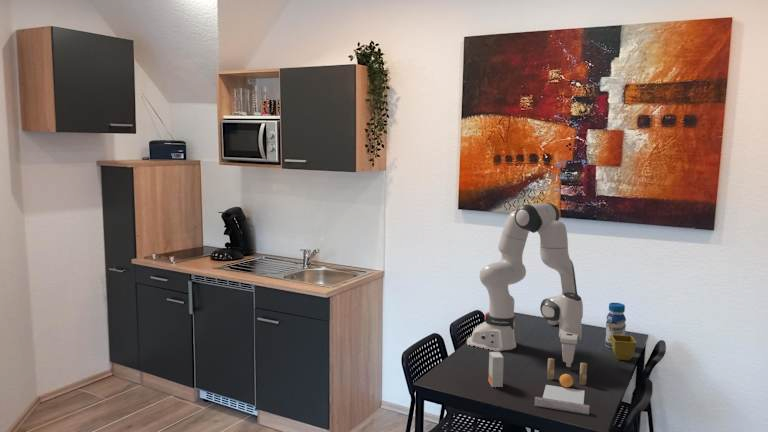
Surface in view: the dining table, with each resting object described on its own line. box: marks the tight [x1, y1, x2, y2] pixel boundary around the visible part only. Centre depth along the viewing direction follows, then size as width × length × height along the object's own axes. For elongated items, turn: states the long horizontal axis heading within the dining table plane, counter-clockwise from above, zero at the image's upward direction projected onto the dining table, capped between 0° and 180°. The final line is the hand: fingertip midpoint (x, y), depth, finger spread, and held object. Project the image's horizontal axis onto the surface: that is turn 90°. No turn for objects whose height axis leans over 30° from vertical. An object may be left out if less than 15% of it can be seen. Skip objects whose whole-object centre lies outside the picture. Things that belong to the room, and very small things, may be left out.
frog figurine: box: [547, 320, 559, 326], centre depth 294 cm, size 6×7×7 cm
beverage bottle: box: [604, 302, 627, 349], centre depth 261 cm, size 8×8×20 cm
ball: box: [559, 373, 574, 388], centre depth 216 cm, size 5×5×5 cm
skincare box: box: [488, 351, 504, 389], centre depth 217 cm, size 6×4×12 cm
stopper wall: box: [533, 396, 590, 415], centre depth 197 cm, size 18×2×2 cm, turn 69°
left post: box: [546, 357, 555, 381], centre depth 223 cm, size 2×2×8 cm
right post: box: [578, 362, 588, 386], centre depth 219 cm, size 2×2×8 cm
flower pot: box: [611, 335, 637, 361], centre depth 247 cm, size 9×9×9 cm
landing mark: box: [542, 384, 586, 405], centre depth 209 cm, size 14×14×1 cm
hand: (568, 365), depth 233 cm, fingers closed
